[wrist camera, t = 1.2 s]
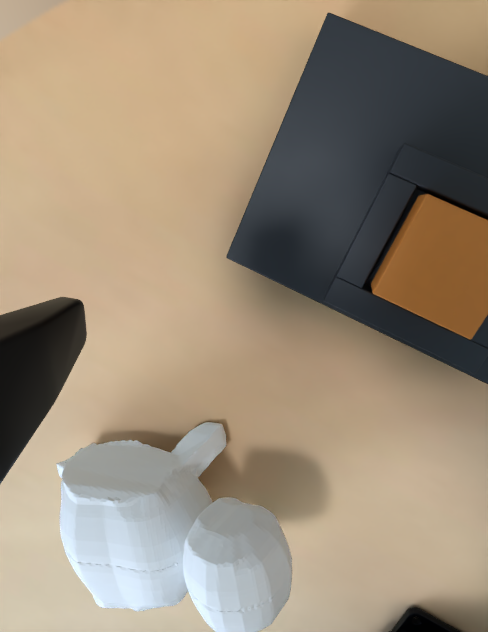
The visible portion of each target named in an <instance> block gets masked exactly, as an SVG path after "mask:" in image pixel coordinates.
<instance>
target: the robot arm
mask: <svg viewBox="0 0 488 632" xmlns="http://www.w3.org/2000/svg"><path fill="white" fill-rule="evenodd" d="M86 335H87V332H86V322H85V311H84V305H83V303H82V302H81V301H80V300H78V299H73V298H67V297H59V298H56V299H53V300H49V301H46V302H43V303H39V304H36V305H33V306H29V307H26V308H23V309H19V310H16V311H13V312H10V313H6V314H3V315H0V484H1V482H2V481H3V479H4V478H5V476H6V475H7V473H8V472H9V470H10V469H11V467H12V466H13V464H14V463H15V461H16V460H17V458H18V457H19V455H20V454H21V452H22V451H23V449H24V448H25V446H26V445H27V443H28V442H29V440H30V439H31V437H32V436H33V434H34V433H35V431H36V430H37V428H38V427H39V425H40V424H41V422H42V421H43V419H44V418H45V416H46V415H47V413H48V412H49V410H50V409H51V407H52V405H53V404H54V402H55V401H56V399H57V397H58V395H59V393H60V391H61V390H62V388H63V386H64V384H65V382H66V380H67V378H68V376H69V374H70V372H71V370H72V368H73V366H74V364H75V362H76V360H77V358H78V356H79V354H80V352H81V350H82V348H83V346H84V344H85V341H86ZM414 617H418V618H414ZM390 632H461V631H459V630H457V629H455V628H453V627H452V626H450V625H448V624H446V623H444V622H443V621H441V620H439V619H437V618H435V617H433V616H432V615H430V614H428V613H426V612H424V611H423V610H421V609H419V608H410V609H408V610H407V612H406V613H405V614H404V615H403V617H402V618H401V619H400V620H399V622H398V623H397V624H396V626H395V627H394V628H393V629H392V631H390Z"/></svg>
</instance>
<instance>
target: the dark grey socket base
mask: <svg viewBox="0 0 488 632" xmlns="http://www.w3.org/2000/svg"><path fill="white" fill-rule="evenodd" d="M424 194H429V195H432V196H434V197H436V198H439V199H441V200H443V201H445V202H448V203H450V204H452V205H454V206H457V207H459V208H461V209H464V210H466V211H468V212H470V213H473V214H475V215H477V216H479V217H482V218H484V219H486V220H488V76H486V75H483V74H481V73H479V72H476V71H474V70H471V69H469V68H466V67H464V66H461V65H459V64H456V63H454V62H451V61H449V60H446V59H444V58H441V57H439V56H436V55H434V54H431V53H429V52H426V51H424V50H421V49H419V48H416V47H414V46H411V45H409V44H406V43H404V42H401V41H399V40H396V39H394V38H391V37H389V36H386V35H384V34H381V33H379V32H376V31H374V30H371V29H369V28H366V27H364V26H361V25H359V24H356V23H354V22H351V21H349V20H346V19H344V18H341V17H339V16H336V15H334V14H331V13H328V14H327V16H326V18H325V21H324V23H323V25H322V28H321V30H320V33H319V35H318V37H317V40H316V42H315V45H314V47H313V50H312V52H311V54H310V57H309V59H308V62H307V64H306V66H305V69H304V71H303V74H302V76H301V78H300V81H299V83H298V86H297V88H296V90H295V93H294V95H293V98H292V100H291V102H290V105H289V107H288V110H287V112H286V114H285V117H284V119H283V122H282V124H281V126H280V129H279V131H278V134H277V136H276V138H275V141H274V143H273V146H272V148H271V151H270V153H269V155H268V158H267V160H266V163H265V165H264V167H263V170H262V172H261V175H260V177H259V179H258V182H257V184H256V187H255V189H254V191H253V194H252V196H251V199H250V201H249V203H248V206H247V208H246V211H245V213H244V215H243V218H242V220H241V223H240V225H239V227H238V230H237V232H236V235H235V237H234V239H233V242H232V244H231V247H230V249H229V251H228V254H227V258H228V259H230V260H232V261H234V262H236V263H238V264H240V265H242V266H245V267H247V268H249V269H251V270H253V271H255V272H257V273H259V274H261V275H263V276H265V277H267V278H269V279H271V280H273V281H276V282H278V283H280V284H282V285H284V286H286V287H288V288H290V289H292V290H294V291H296V292H298V293H300V294H302V295H305V296H307V297H309V298H311V299H313V300H315V301H317V302H319V303H321V304H323V305H325V306H327V307H329V308H331V309H333V310H336V311H338V312H340V313H342V314H344V315H346V316H348V317H350V318H352V319H354V320H356V321H358V322H360V323H362V324H365V325H367V326H369V327H371V328H373V329H375V330H377V331H379V332H381V333H383V334H385V335H387V336H389V337H391V338H393V339H396V340H398V341H400V342H402V343H404V344H406V345H408V346H410V347H412V348H414V349H416V350H418V351H420V352H422V353H425V354H427V355H429V356H431V357H433V358H435V359H437V360H439V361H441V362H443V363H445V364H447V365H449V366H451V367H454V368H456V369H458V370H460V371H462V372H464V373H466V374H468V375H470V376H472V377H474V378H476V379H478V380H480V381H482V382H485V383H487V384H488V315H487V317H486V318H485V320H484V321H483V323H482V324H481V326H480V327H479V329H478V330H477V332H476V333H475V335H474V336H473V338H472V339H468V338H465V337H463V336H461V335H459V334H457V333H455V332H453V331H451V330H449V329H446V328H444V327H442V326H440V325H438V324H436V323H434V322H432V321H430V320H427V319H425V318H423V317H421V316H419V315H417V314H415V313H413V312H411V311H408V310H406V309H404V308H402V307H400V306H398V305H396V304H394V303H392V302H389V301H387V300H385V299H383V298H381V297H379V296H377V295H375V294H373V292H372V287H371V282H372V280H373V278H374V277H375V275H376V273H377V271H378V269H379V267H380V265H381V264H382V262H383V260H384V258H385V256H386V254H387V253H388V251H389V249H390V247H391V245H392V243H393V242H394V240H395V238H396V236H397V234H398V232H399V230H400V229H401V227H402V225H403V223H404V221H405V219H406V218H407V216H408V214H409V212H410V210H411V208H412V206H413V205H414V203H415V201H416V199H417V197H418V196H419V195H424Z"/></svg>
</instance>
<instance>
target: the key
mask: <svg viewBox="0 0 488 632" xmlns="http://www.w3.org/2000/svg"><path fill="white" fill-rule="evenodd" d="M371 287H372V292H373V294H375V295H377V296H379V297H381V298H383V299H385V300H387V301H389V302H392V303H394V304H396V305H398V306H400V307H402V308H404V309H406V310H408V311H411V312H413V313H415V314H417V315H419V316H421V317H423V318H425V319H427V320H430V321H432V322H434V323H436V324H438V325H440V326H442V327H444V328H446V329H449V330H451V331H453V332H455V333H457V334H459V335H461V336H463V337H465V338H468V339H472V338H473V336H474V335H475V333H476V332H477V330H478V329H479V327H480V326H481V324H482V323H483V321H484V320H485V318H486V317H487V315H488V220H486V219H484V218H482V217H479V216H477V215H475V214H473V213H470V212H468V211H466V210H464V209H461V208H459V207H457V206H454V205H452V204H450V203H448V202H445V201H443V200H441V199H439V198H436V197H434V196H432V195H429V194H424V195H419V196H418V197H417V199H416V201H415V203H414V205H413V206H412V208H411V210H410V212H409V214H408V216H407V218H406V219H405V221H404V223H403V225H402V227H401V229H400V230H399V232H398V234H397V236H396V238H395V240H394V242H393V243H392V245H391V247H390V249H389V251H388V253H387V254H386V256H385V258H384V260H383V262H382V264H381V265H380V267H379V269H378V271H377V273H376V275H375V277H374V278H373V280H372V282H371Z"/></svg>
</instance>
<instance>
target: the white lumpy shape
mask: <svg viewBox="0 0 488 632" xmlns="http://www.w3.org/2000/svg"><path fill="white" fill-rule="evenodd" d="M225 446H226V434H225V431H224V428H223V425H222V424H220V423H213V422H205V423H203V424H201V425H199V426H198V427H195V428H194V429H193V430H191V431H190V432H188V434H187V435H185V437H184V438H183V439H182V440H181V441H180V442H179V443H178V444H177V446H176V448H175V449H174V450H173V451H172V452H167V451H164V450H161V449H159V448H154V447H151V446H150V445H148V444H142V443H141V442H139V441H137V440H135V441H132V440H128V441H125V440H121V441H114V442H112V441H110V442H108V443H103V444H99V445H97V444H95V443H92V444H91V445H89V446H87V447H85V448H81V449H79V451H78V452H76V453H75V455H74V456H72V457H71V458H69V459H67V460H65V461H62V462H59V463H57V468H58V472H59V475H60V477H61V478H62V482H61V496H62V498H61V500H62V502H61V510H60V533H61V539H62V542H63V545H64V549H65V553H66V555H67V557H68V559H69V561H70V563H71V565H72V567H73V569H74V571H75V572H76V574H77V575H78V576H79V578H80V579H81V580H82V582H83V583H84V584H85V586H86V587H87V588H88V589H89V591H90V592H91V593H92V594H93V597H94V600H95V602H96V603H97V605H98V606H100V607H101V608H124V609H125V608H132V609H133V610H134V611H141V610H142V611H144V610H145V609H152V608H158V607H164V606H173V605H176V604H177V603H179V602H180V601H181V600H182V599H183V598H184V597H185V595H186V593H187V591H189V594H190V596H191V599H192V600H193V602H194V604H195V606H196V608H197V609H198V611H199V612H200V614H201V615H202V617H203V618H204V620H205V621H206V623H207V624H208V625H209V626H210V627H211V628H212V629H213V630H214V631H216V632H257V631H260V630H262V629H264V628H265V627H267V626H269V625H270V624H272V622H273V621H274V619H275V618H276V617H277V615H278V614H279V612H280V611H281V609H282V608H283V606H284V605H285V603H286V602H287V600H288V598H289V595H290V590H291V582H292V557H291V553H290V550H289V546H288V543H287V541H286V538H285V536H284V533H283V531H282V529H281V526H280V524H279V522H278V520H277V518H276V517H275V515H274V514H273V513H272V512H271V511H269V510H267V509H266V508H264V507H262V506H260V505H253V504H247V503H243V502H241V501H239V500H238V499H237V498H230V497H227V498H219V499H217V500H216V501H214V502H213V503H212V499H211V497H210V495H209V493H208V491H207V489H206V488H205V487H204V485H203V484H202V483H201V482H200V480H199V479H198V477H199V476H200V475H201V473H202V472H203V471H204V470H205V469H206V468H207V467H208V466H209V465H210V463H211V461H213V460H214V458H215V457H216V456H217V455H218V454H219V453H221V452H222V450H223V449H224V448H225Z"/></svg>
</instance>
